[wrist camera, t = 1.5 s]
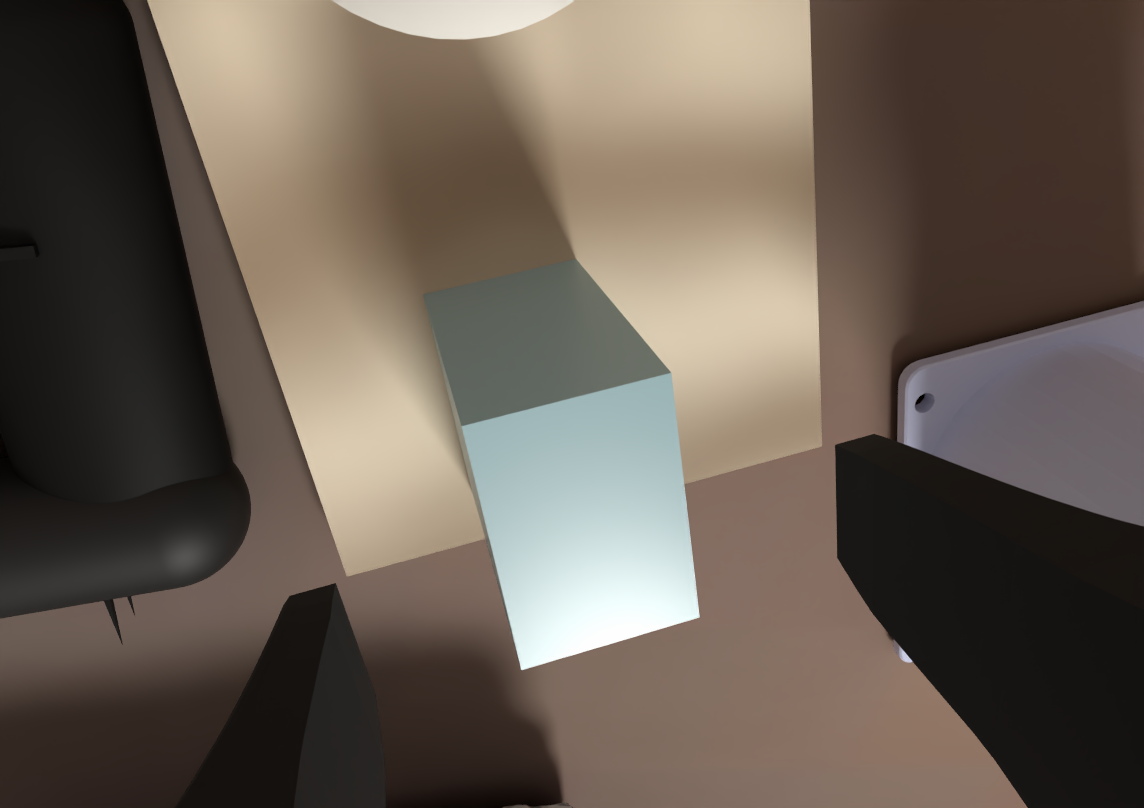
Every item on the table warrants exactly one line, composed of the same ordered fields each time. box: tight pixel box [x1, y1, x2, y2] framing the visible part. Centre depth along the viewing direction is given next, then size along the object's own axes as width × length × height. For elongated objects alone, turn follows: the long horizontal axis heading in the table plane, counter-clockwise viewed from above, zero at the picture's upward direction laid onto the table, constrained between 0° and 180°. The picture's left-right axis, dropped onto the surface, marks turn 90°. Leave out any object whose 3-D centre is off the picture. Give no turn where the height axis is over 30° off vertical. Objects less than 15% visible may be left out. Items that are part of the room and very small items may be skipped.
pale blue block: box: [423, 259, 699, 670], centre depth 16 cm, size 4×3×6 cm, turn 9°
